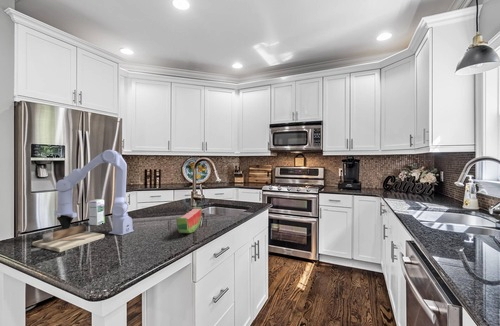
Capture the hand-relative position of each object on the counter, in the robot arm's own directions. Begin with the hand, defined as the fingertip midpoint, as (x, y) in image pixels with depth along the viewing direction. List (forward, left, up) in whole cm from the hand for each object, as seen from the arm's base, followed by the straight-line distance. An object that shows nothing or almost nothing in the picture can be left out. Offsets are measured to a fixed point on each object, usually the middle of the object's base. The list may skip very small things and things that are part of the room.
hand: (65, 230), depth 119 cm
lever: (-4, +3, -1) cm, 5 cm away
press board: (-8, +3, -3) cm, 10 cm away
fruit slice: (-51, -33, -4) cm, 61 cm away
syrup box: (+9, -22, -4) cm, 24 cm away
